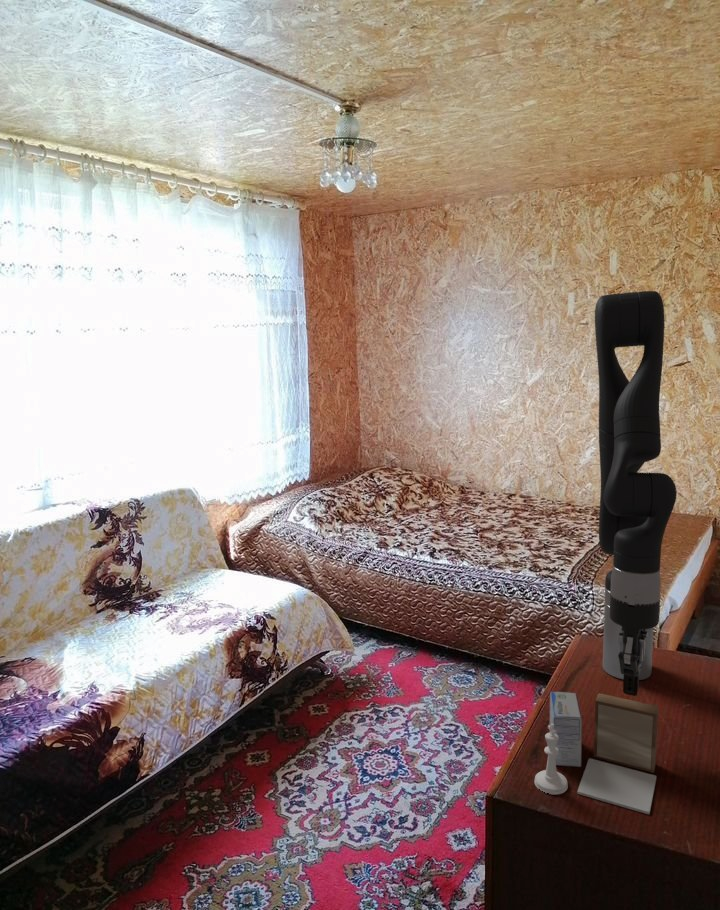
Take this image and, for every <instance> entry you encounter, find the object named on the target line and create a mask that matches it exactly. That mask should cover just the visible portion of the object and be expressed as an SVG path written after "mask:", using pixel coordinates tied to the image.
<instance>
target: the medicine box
mask: <svg viewBox="0 0 720 910" xmlns="http://www.w3.org/2000/svg"><path fill="white" fill-rule="evenodd" d="M552 723H553V724H554V729H555V730H556V731H557V733H556V734H557V735H558V736H559V740H558V742H557V745H556V748H557V749H558V750H559V754H558V755H555V761H556V766H562V767H577V768H580V767H582V737H583V736H582V726H583V725H582V723H583V720H582V714H581V710H580V705H579V701H578V695H577V693H575V692H566V691H565V692H564V691H550V693H549V725H550V724H552ZM548 730H549V729H548ZM548 732H550V730H549V731H548Z"/></svg>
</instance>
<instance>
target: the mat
mask: <svg viewBox="0 0 720 910" xmlns="http://www.w3.org/2000/svg"><path fill="white" fill-rule="evenodd" d="M582 774H583V775H582V777H581V780H580V781H579V786H578V788H577V791H576V794H577V795H580V796H584V797H587V798H589V799H594V800H597V801H601V802H604V803H608V804H611V805H615V806H618V807H622V808H624V809H629V810H631V811H636V812H638V813H642V814H645V815H650V813H651V808H652V803H653V799H654V798H653V797H654V793H655V787H656V783H657V775H655V774H650V773H647V772H643V771H641V770H640V771H639V770H637V769H632V768H628V767H626V766H620V765H617V764H614V763H613V764H612V763H611V762H610V763H609V762H606V761H601V760H598V759H594V758H591V757H589V758H588V759H587V763H586V766H585V769H584V771H583V773H582Z"/></svg>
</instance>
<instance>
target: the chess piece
mask: <svg viewBox="0 0 720 910" xmlns="http://www.w3.org/2000/svg"><path fill="white" fill-rule="evenodd" d="M547 729H548V730H550V731H549V732H547V733H546V734H545V735H544V738H545V741H546V744H547V746H545V747H544V753H545V754H547V762H546V768H545V769H543V770H541V771H539V772H538V773H536V774H535V776H534V785H535V787H536V788H537V789H538V790H539V789H540V790H539V791H540V792H542V791H543V792H542V793H544V792H545V794H547V793H549V794H548V795H557V796H558V795H562V794H563V793H565V792H566V791H567V790H568V788H569V784H568V780H567V778H566V776H565V775H563V774H562V773H561V772H558V771H557V765H556V761H555V755H558V754H559V750H558V749H557V748H556V745H557V742H558V740H559V736H558V735H557V734H556V733H557V731H556V730H555V729H554V724H553V723H552V724H550V723H549V724H548V725H547Z"/></svg>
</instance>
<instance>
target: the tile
mask: <svg viewBox="0 0 720 910" xmlns="http://www.w3.org/2000/svg"><path fill="white" fill-rule="evenodd" d="M594 705H595V707H594V711H595V712H594V737H593V738H594V740H593V758H596V759H600V760H603V761H605V762H606V761H607V762H610V763H613V764H614V763H615V764H618V765H622V766H624V767H630V768H633V769H636V770H637V769H638V770H640V771H645V772H650V773H655V770H656V764H657V763H656V762H657V744H658V742H657V740H658V721H659V705H655V704H650V703H645V702H641V701H636V700H632V699H628V698H627V699H626V698H622V697H618V696H613V695H609V694H605V693H604V694H603V693H598V694H597V696H596V698H595V704H594Z"/></svg>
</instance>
